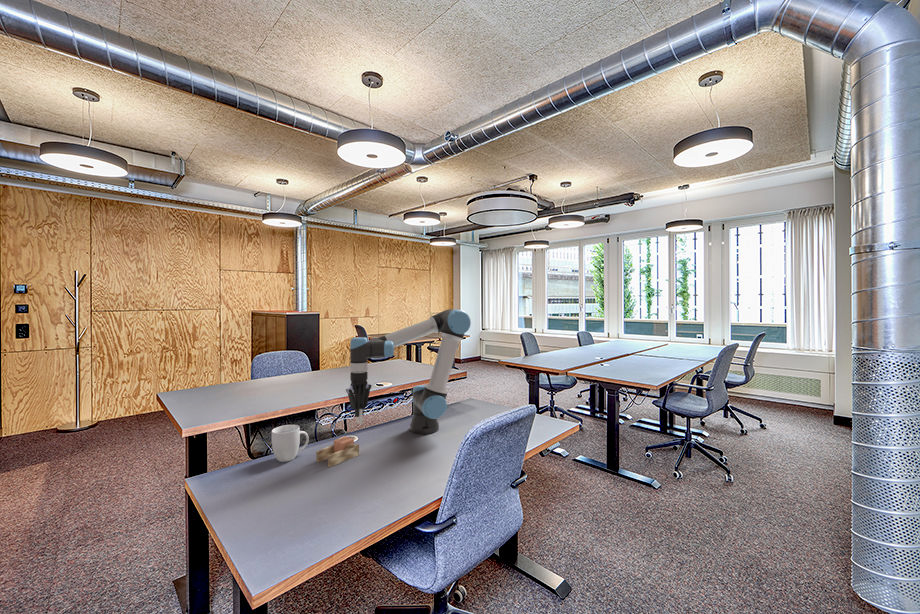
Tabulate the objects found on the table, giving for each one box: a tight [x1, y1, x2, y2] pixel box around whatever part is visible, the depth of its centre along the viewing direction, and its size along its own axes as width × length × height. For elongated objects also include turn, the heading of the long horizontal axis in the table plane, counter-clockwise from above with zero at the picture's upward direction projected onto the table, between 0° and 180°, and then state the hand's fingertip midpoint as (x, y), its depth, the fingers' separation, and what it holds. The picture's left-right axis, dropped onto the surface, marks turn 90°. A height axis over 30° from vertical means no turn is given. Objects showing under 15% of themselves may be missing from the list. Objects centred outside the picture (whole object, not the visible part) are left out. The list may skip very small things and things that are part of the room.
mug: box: [271, 424, 310, 463], centre depth 162 cm, size 15×11×13 cm
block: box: [333, 435, 355, 453], centre depth 163 cm, size 6×6×7 cm
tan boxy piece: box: [315, 443, 360, 468], centre depth 161 cm, size 15×10×6 cm
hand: (359, 423), depth 170 cm, fingers closed
